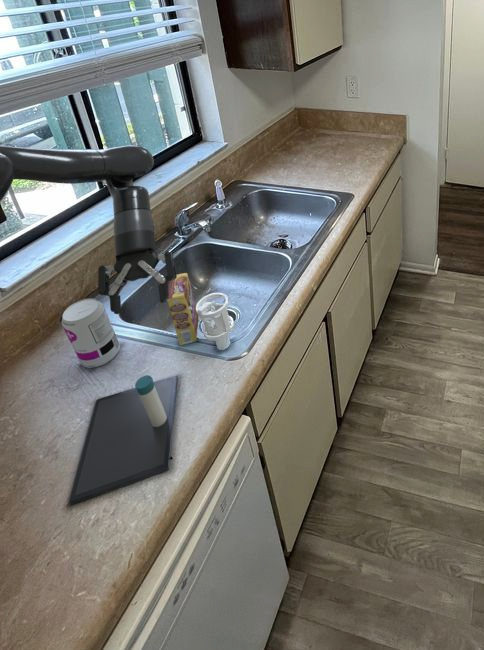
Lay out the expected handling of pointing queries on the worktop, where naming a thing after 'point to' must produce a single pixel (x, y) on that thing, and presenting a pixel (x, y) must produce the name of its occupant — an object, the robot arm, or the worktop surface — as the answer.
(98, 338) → the supplement can
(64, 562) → the worktop surface
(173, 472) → the worktop surface
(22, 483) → the worktop surface
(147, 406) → the teal capped white tube
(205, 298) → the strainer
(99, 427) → the tablet
